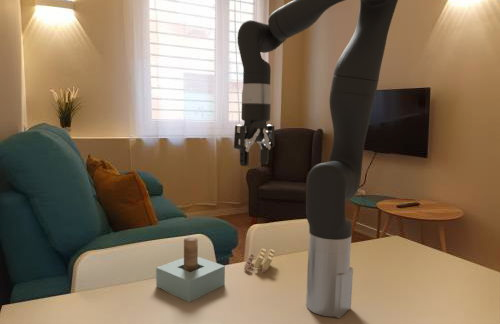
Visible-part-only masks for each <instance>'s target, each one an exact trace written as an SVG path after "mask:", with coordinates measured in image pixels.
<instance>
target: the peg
mask: <svg viewBox="0 0 500 324" xmlns="http://www.w3.org/2000/svg"><path fill="white" fill-rule="evenodd" d="M198 243H199V241H198V238H197V237H186V238H184V239H183V258H184V270H186V271H188V272H192V271H195V270H197V269H198V257H199V256H198V255H199V253H198V252H199V250H198V249H199V246H198V245H199V244H198Z"/></svg>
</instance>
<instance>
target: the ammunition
mask: <svg viewBox="0 0 500 324" xmlns="http://www.w3.org/2000/svg"><path fill="white" fill-rule="evenodd" d="M266 253H267V254H266ZM275 253H276V251H275V250H274V249H272V248H270V249H269V250H268V252H267V250H266V248H263V247H262V248H261V249H260V250H259V253H257V257H256V258H255V255H254V254H252V253H249V256H248V258H247V259H246V261H245V265H244V268H243V270H245V271H244V272H246V270H247V271H248V270H249V269H250V268H251V266H252V263H253V261H254V259H255V261H254V264H253V267H254V268H255V269H259V268H260V267H261V265H262V268H261V273H262V272H264V273H265V272H266V271H267V270H268V269H269V267H270V265H271V263H272V262H273V260H274V259H273V258H274V254H275ZM262 262H263V263H262Z"/></svg>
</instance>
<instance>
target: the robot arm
mask: <svg viewBox="0 0 500 324" xmlns="http://www.w3.org/2000/svg"><path fill="white" fill-rule="evenodd" d="M344 1H346V0H292V1H289V2H288V3H286V4H284V5H283V6H280V7H279V8H277V9H276V10H274V11H273V12H272V13H271V14H270V15H269V17H268V21H267V23H263V22H259V21H256V20H253V19H248V20H246V21H244V22H243V23H242V24H241V25H240V27H239V29H238V32H237V47H238V51H239V55H240V60H241V64H242V67H243V70H242V71H243V72H242V73H243V74H242V76H243V77H242V78H243V79H242V91H241V115H240V116H241V117H240V118H241V120H242V121H243V124H236V125H235V126H234V142H233V148H234V149H236V150H238V151H239V164H240V166H242V167H249V162H250V161H249V159H250V157H249V155H250V151H249V150H250V149H251V146H252V145H254V143H257V144H258V145H259V146H260V154H259V155H260V161H259V162H260V164H265V165H267V164H268V163H269V160H270V157H269V156H270V155H269V154H270V153H269V152H270V150H271V148H274V147H275V125H274V124H273V125H272V124H268V122H270V121H271V108H272V107H271V106H272V104H271V102H272V101H271V100H272V90H271V73H272V72H271V70H272V69H271V64H270V63H269V62H268V61H266V60H265V59H263V57H262V54H261V53H264V54H265V53H270V52H273V51H274V50H276V49H278V47H280V46H281V45H282V44H283V43H285V42H286V40H287V39H289V38H292V37H293V36H295V35H297V34H299V33H301V32H304V31H305V30H307V29H308V28H310V27H311V26H313V25H314V24H315V23H316V22H317V21H318V20H319V19H320V18H321V16H322V15H323V14H324V13H325V12H326V11H327V10H329V9H330V8H331V7H333V6H334V5H336V4H339V3H341V2H344ZM398 1H399V0H359V10H358V16H357V21H356V26H355V29H354V32H353V35H352V36H351V38H350V40H349V42H348V43H347V45H346V47H345V48H344V50H343V52H341V55H340V57H339V58H338V60H337V62H336V64H335V67H334V71H333V75H332V81H331V86H330V91H329V92H330V93H329V110H330V111H329V112H330V117H331V123H332V129H333V138H332V139H333V140H332V144H331V145H332V146H331V150H330V155H329V158H328V161H326V162H320V163H317V164H316V165H314V166H313V167H312V168H311V170H310V171H309V172H308V174H307V178H306V189H305V199H306V200H305V206H306V207H305V209H306V210H305V211H306V212H305V215H306V220H307V223H308V230H309V231H308V235H309V236H308V251H307V271H306V272H307V275H306V295H305V296H306V297H305V299H306V300H305V301H306V302H305V304H306V307H307V309H308V310H309V311H310V312H312V313H314V314H316V315H319V316H324V317H333V318H334V317H335V318H338V319H341V318H342V317H343V316H344V315H345V314H346V313H347V312H348V311H349V310H350V309H351V308H352V294H353V293H352V292H353V276H354V268H353V267H352V266H351V249H352V235H353V234H352V233H353V225H352V222H351V221H350V220H349V219H347V218H346V201H348V200H350V199H352V198H353V197H354V196H355V195H356V194H357V193H358V190H359V188H360V184H361V178H362V170H363V159H364V158H363V157H364V148H365V144H366V138H367V133H368V129H369V125H370V120H371V115H372V111H373V107H374V106H373V105H374V103H375V99H376V94H377V89H378V84H379V78H380V74H381V69H382V68H381V67H382V63H383V58H384V55H385V49H386V44H387V39H388V35H389V31H390V26H391V24H392V19H393V16H394V13H395V10H396V7H397V4H398Z"/></svg>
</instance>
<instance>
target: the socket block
mask: <svg viewBox="0 0 500 324" xmlns="http://www.w3.org/2000/svg"><path fill="white" fill-rule="evenodd" d="M155 269H156V272H155V276H156V278H155V279H156V280H155V281H156V286H157V287H156V288H158V287H159V289H160V288H161V290H162V289H163V290H162V291H165V292H167V293H169V294H171V295H173V296H175V297H177V298H179V299H182V300H184V301H186V302H188V303H191V302H192V301H194V300H197V299H199V298H201V297H203V296H205V295H207V294H209V293H211V292H213V291H215V290H217V289H219V288H222V287H224V286H225V284H226V283H225V282H226V281H225V280H226V279H225V277H226V276H225V274H226V266H225V265H223V264H221V263H217V262H215V261H212V260H208V259H206V258H204V257H200V256H198V269H197V270H195V271H192V272H188V271H186V270H184V257H182V258H179V259H176V260H174V261H171V262H168V263H165V264H162V265H160V266H159V265H158V266H157V267H156V268H155Z"/></svg>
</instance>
